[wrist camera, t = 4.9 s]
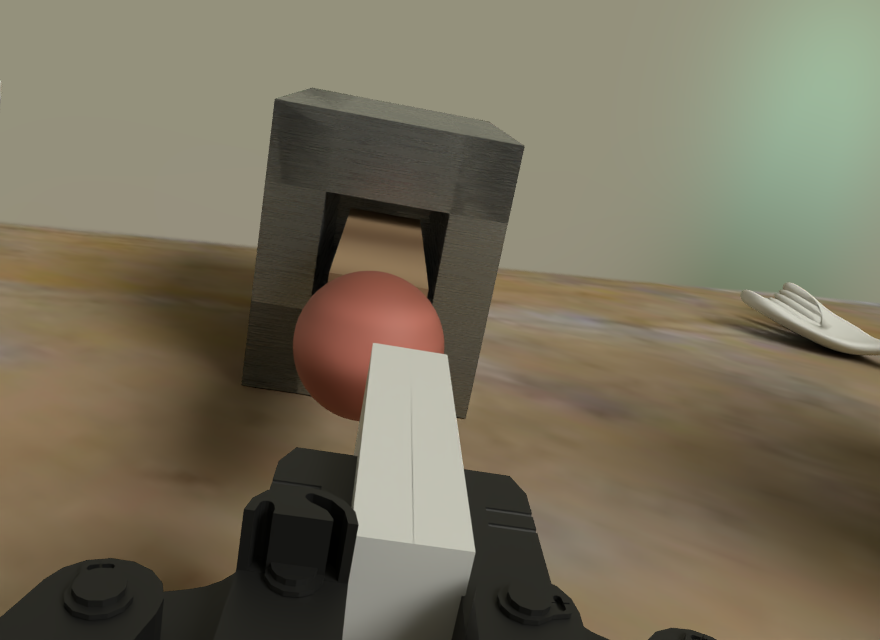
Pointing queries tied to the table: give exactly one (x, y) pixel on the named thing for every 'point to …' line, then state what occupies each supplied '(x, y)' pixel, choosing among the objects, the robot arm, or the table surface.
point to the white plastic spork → (812, 320)
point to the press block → (384, 191)
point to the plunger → (365, 309)
